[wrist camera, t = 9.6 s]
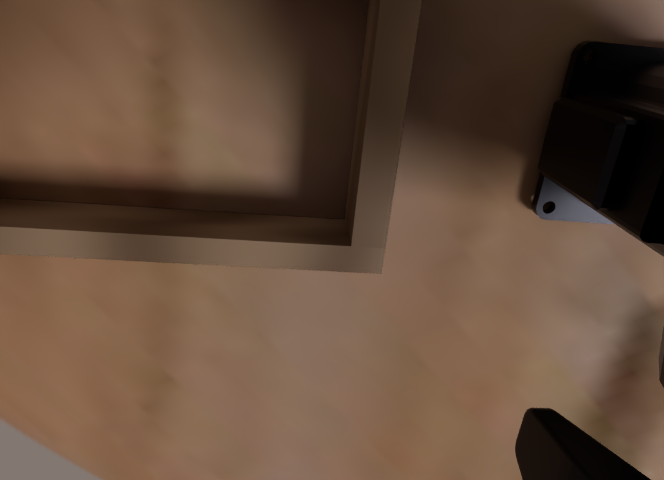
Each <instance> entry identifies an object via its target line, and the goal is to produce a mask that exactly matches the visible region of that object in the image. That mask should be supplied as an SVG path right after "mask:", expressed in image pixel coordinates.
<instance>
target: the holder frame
mask: <svg viewBox="0 0 664 480" xmlns="http://www.w3.org/2000/svg"><path fill="white" fill-rule="evenodd" d="M421 4H422V0H369V4H368V13H367V22H366V31H365V40H364V49H363V58H362V67H361V76H360V85H359V94H358V103H357V112H356V121H355V130H354V139H353V148H352V157H351V166H350V176H349V185H348V194H347V203H346V212H345V220H344V219H327V218H311V217H295V216H279V215H263V214H247V213H230V212H214V211H198V210H182V209H166V208H150V207H133V206H117V205H101V204H85V203H69V202H53V201H36V200H20V199H4V198H0V254H9V255H28V256H48V257H67V258H86V259H106V260H125V261H144V262H164V263H183V264H202V265H222V266H241V267H260V268H280V269H299V270H319V271H338V272H357V273H377V274H382V267H383V260H384V253H385V247H386V240H387V233H388V226H389V220H390V213H391V206H392V199H393V193H394V186H395V179H396V172H397V166H398V159H399V152H400V145H401V139H402V132H403V125H404V118H405V112H406V105H407V98H408V91H409V85H410V78H411V71H412V65H413V58H414V51H415V44H416V38H417V31H418V24H419V17H420V11H421Z"/></svg>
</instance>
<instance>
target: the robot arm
mask: <svg viewBox="0 0 664 480" xmlns="http://www.w3.org/2000/svg"><path fill="white" fill-rule="evenodd" d="M588 50H591V52H592V57H591V59H590V61H589V62H587V63H585V62H584V61H583V60H584V55H585V53H586V52H587V51H588ZM538 169H539V171H540V176H539V179H538V183H537V187H536V191H535V195H534V198H533V202H532V209H533V212H534V213H535V214H537V215H538V216H539V217H540V218H541V219H545V220H559V221H575V222H590V223H606V224H616V225H617V226H619V227H620V228H622V229H623V230H625V231H626V232H628V233H629V234H631V235H632V236H634V237H635V238H637V239H638V240H640V241H641V242H643V243H644V244H646V245H647V246H649V247H650V248H651V249H653V250H654V251H656V252H657V253H659V254H660V255H662V256H663V257H664V48H654V47H644V46H634V45H624V44H615V43H605V42H595V41H584V42H582V43H580V44H578V45H577V46H576V47H575V48H574V50H573V52H572V54H571V58H570V61H569V65H568V69H567V73H566V77H565V80H564V84H563V88H562V92H561V96H560V98H559V99H558V100H557V101H556V102H555V103H554V106H553V110H552V113H551V117H550V121H549V125H548V129H547V133H546V136H545V140H544V144H543V148H542V152H541V156H540V160H539V163H538ZM549 201H551V205H550V207H549V208H548V209H546V210H543V205H544V204H545V203H546V202H549ZM659 380H660V382H661V384H662V386H663V387H664V328H663V334H662V341H661V347H660V353H659ZM515 453H516V458H517V462H518V465H519V469H520V472H521V475H522V479H523V480H651V479H649V478H648V477H646V476H645V475H644V474H642V473H641V472H639V471H638V470H637V469H635V468H634V467H633V466H631V465H630V464H628V463H627V462H626V461H624V460H623V459H621V458H620V457H619V456H617V455H616V454H614V453H613V452H612V451H610V450H609V449H608V448H606V447H605V446H603V445H602V444H601V443H599V442H598V441H596V440H595V439H594V438H592V437H591V436H589V435H588V434H587V433H585V432H584V431H582V430H581V429H580V428H578V427H577V426H576V425H574V424H573V423H571V422H570V421H569V420H567V419H566V418H564V417H563V416H562V415H560V414H559V413H557V412H556V411H554V410H553V409H550V408H530V409H528V410H527V411H526V412H525V414H524V417H523V421H522V424H521V427H520V430H519V434H518V437H517V440H516V445H515Z"/></svg>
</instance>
